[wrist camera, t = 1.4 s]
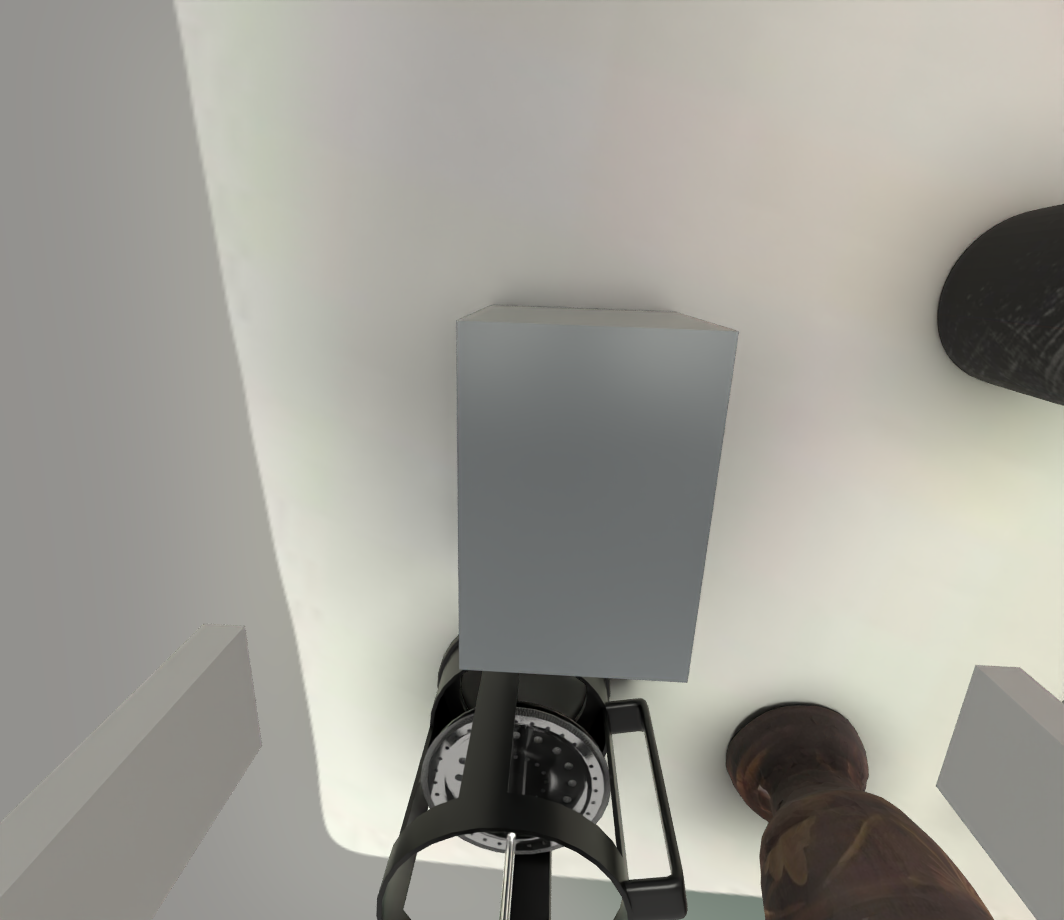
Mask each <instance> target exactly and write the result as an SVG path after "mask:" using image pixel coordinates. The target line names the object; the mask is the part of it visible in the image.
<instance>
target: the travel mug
mask: <svg viewBox="0 0 1064 920" xmlns="http://www.w3.org/2000/svg"><path fill="white" fill-rule="evenodd" d="M938 327H939V333H940V337H941V340H942V344H943V346H944V348H945V350H946V352H947V354H948V355H949V356H950V358H951V359H952V361H953V362H954V363H955V364H956V365H957V366H958V367H959V368H961V369H962V370H963V371H965V372H966V373H968V374H969V375H971V376H973V377H975V378H977V379H979V380H982V381H985V382H988V383H991V384H994V385H997V386H1000V387H1003V388H1007V389H1010V390H1013V391H1016V392H1020V393H1023V394H1026V395H1030V396H1033V397H1036V398H1040V399H1043V400H1046V401H1050V402H1053V403H1057V404H1060V405H1063V406H1064V204H1062V205H1057V206H1052V207H1047V208H1042V209H1038V210H1034V211H1030V212H1026V213H1023V214H1020V215H1017V216H1014V217H1012V218H1010V219H1008V220H1006V221H1004V222H1002V223H1000V224H998V225H997V226H995V227H993V228H992V229H990V230H989V231H987V232H986V233H985V234H983V235H982V236H981V237H980V238H978V239H977V240H976V241H975V242H974V243H973V244H972V245H971V246H970V247H969V248H968V249H967V250H966V251H965V252H964V254H963V255H962V256H961V257H960V259H959V260H958V261H957V263H956V264H955V266H954V268H953V269H952V271H951V273H950V275H949V277H948V279H947V280H946V283H945V286H944V288H943V291H942V294H941V298H940V302H939V310H938Z"/></svg>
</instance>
